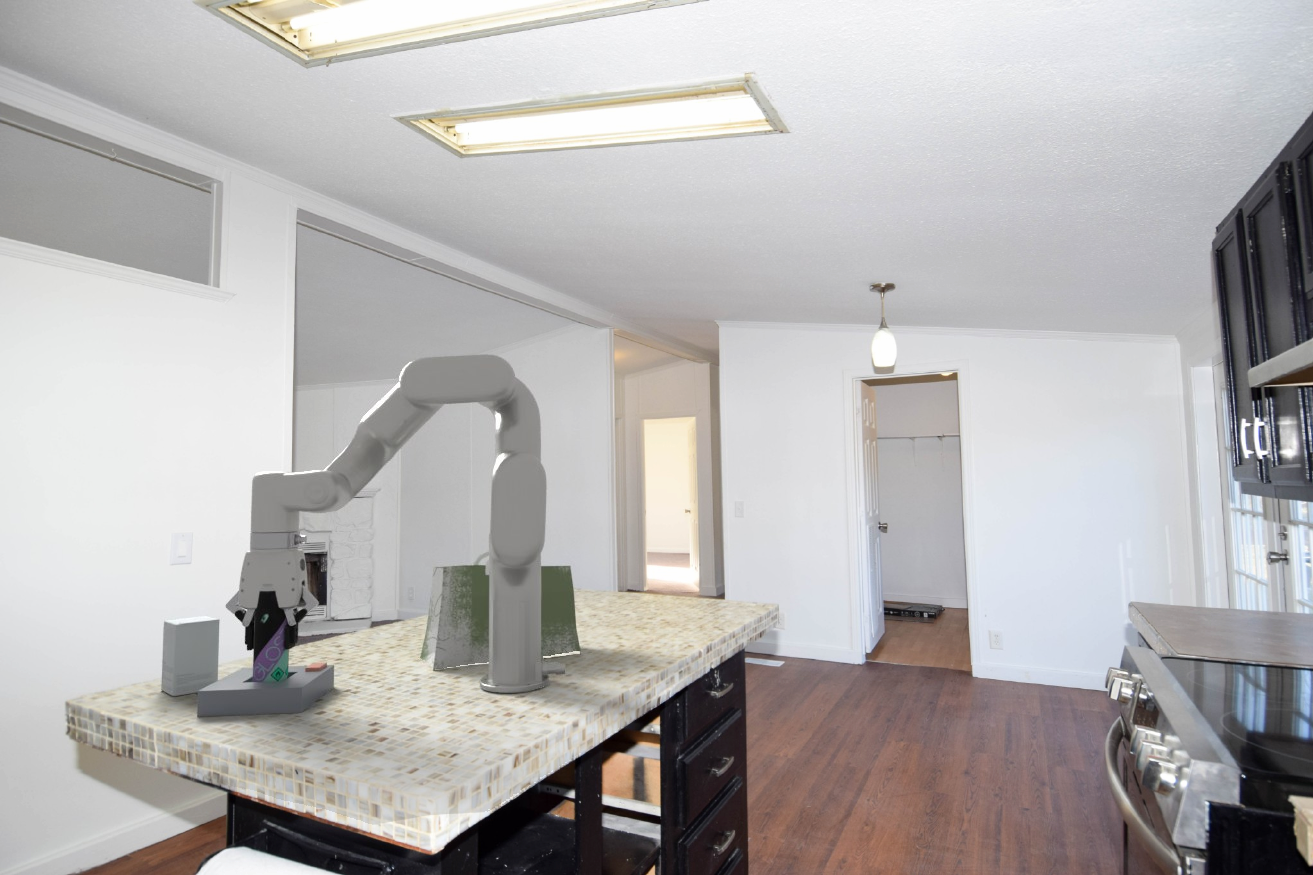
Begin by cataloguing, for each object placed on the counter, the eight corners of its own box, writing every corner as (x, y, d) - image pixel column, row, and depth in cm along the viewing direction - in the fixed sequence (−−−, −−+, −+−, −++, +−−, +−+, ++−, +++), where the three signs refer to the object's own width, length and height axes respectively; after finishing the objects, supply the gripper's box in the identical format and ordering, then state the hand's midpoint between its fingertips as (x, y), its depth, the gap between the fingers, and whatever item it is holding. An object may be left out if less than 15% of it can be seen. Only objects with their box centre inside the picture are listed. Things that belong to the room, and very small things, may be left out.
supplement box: (218, 689, 137) (220, 618, 138) (171, 697, 131) (174, 624, 132) (205, 682, 142) (208, 614, 143) (159, 690, 136) (162, 619, 137)
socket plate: (333, 687, 137) (334, 661, 138) (301, 712, 121) (302, 683, 122) (242, 690, 136) (242, 664, 136) (197, 716, 120) (198, 687, 120)
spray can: (256, 691, 125) (260, 570, 126) (248, 685, 129) (252, 568, 130) (292, 685, 128) (295, 568, 130) (282, 680, 133) (286, 566, 134)
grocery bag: (561, 643, 175) (560, 544, 177) (582, 655, 163) (582, 547, 164) (419, 658, 161) (420, 549, 162) (431, 672, 148) (432, 554, 150)
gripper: (332, 540, 135) (330, 642, 134) (232, 541, 133) (229, 645, 132) (318, 543, 128) (315, 651, 126) (212, 544, 126) (208, 654, 124)
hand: (271, 647), depth 129 cm, fingers closed on spray can, 5 cm apart
